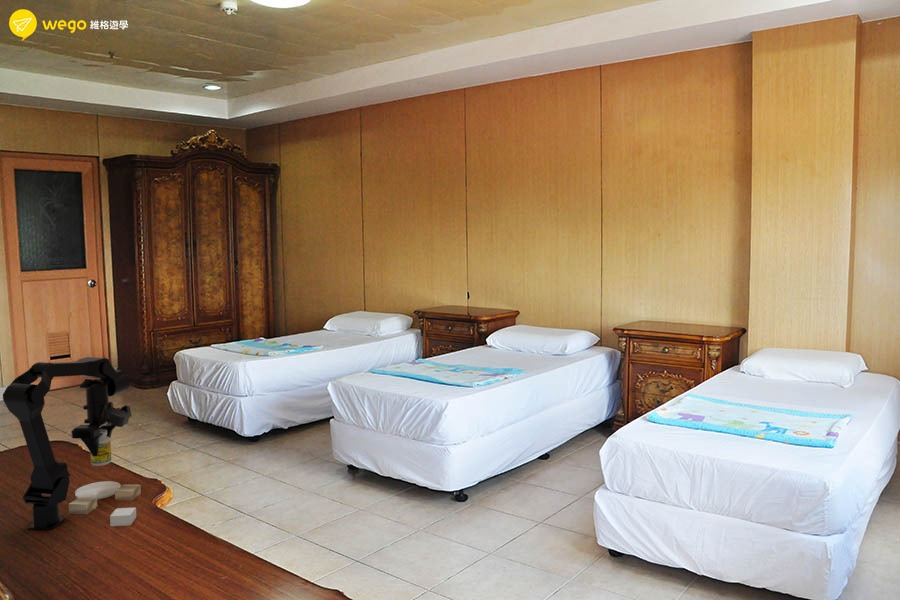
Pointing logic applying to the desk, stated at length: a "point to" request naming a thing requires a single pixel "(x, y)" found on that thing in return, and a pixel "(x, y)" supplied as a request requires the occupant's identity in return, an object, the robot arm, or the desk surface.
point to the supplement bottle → (102, 450)
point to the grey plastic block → (123, 517)
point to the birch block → (82, 505)
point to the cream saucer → (98, 490)
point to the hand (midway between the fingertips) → (100, 452)
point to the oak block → (127, 492)
